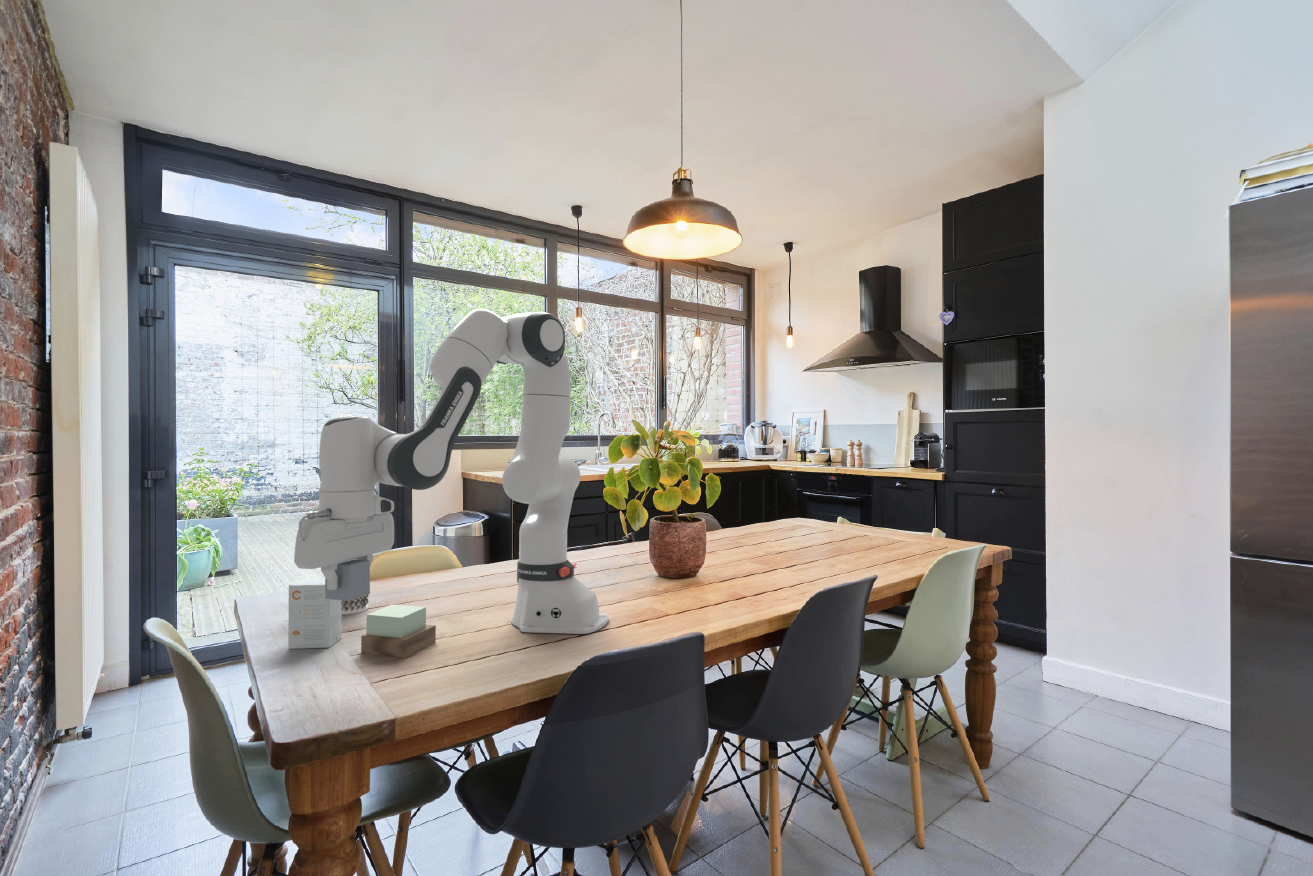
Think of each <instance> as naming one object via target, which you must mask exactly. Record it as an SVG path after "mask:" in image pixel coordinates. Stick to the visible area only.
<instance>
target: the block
mask: <svg viewBox="0 0 1313 876" xmlns="http://www.w3.org/2000/svg"><path fill="white" fill-rule="evenodd" d="M370 568H371V565H370V560H348V561H344V562H340V563H337V569H336V570H335V572H336V575H337V577H338V578H342V582H341V584H342V586H341V588H338V589H336V590H328V589H327V579H326V578H325V577H324V578H325V599H333V600H349V601H350V600H353V599H356V598H359V597H362V596H365V595H370V594H371V569H370Z"/></svg>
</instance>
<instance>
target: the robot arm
mask: <svg viewBox="0 0 1313 876" xmlns="http://www.w3.org/2000/svg"><path fill="white" fill-rule="evenodd" d="M565 346H566V333H565V330H564V327H563V323H562V322H561V321H560V320H559V318H558V316H556V315H555V314H552V313H548V312H544V311H534V312H520V313H514V314H512V315H508V316H504V317H500V316H499V315H498V314H497V313H496V312H493V311H492V310H489V309H486V308H477V309H474V310H471V311H470V312H469V313H468V314H466V315H465V316H464V317H463V318H462V319H461V320H460V321H458V323H457V324H456V325H455V326H454V327H453V328H452V329H451V331H450V332H449V333H448V335H446V337H445V338H444V340H443V341H442V343H441V344H440V345H439V347H438V348H437V350H436V351H435V353H434V355H433V358H432V360H431V363H430V365H429V366H430V372H431V377H432V378H433V380H434V382H435V383H436V384H437V385H438V387H440V388H441V391H440V394H439V396H438V398H437V400H436V401H435V404H434V405H433V407H432V409H431V410H430V412H429V413H428V415H427V416H426V419H425V420H424V422H423V423H422V425H421V426H420V427H418V428H417V429H415V430H414V431H412V432H409V433H403V434H402V433H398V432H396V431H392V430H390V429H388V428H386V427H383V426H382V425H380V424H378V423H377V422H375V421H374V420H373V419H372V418H370V417H369V416H368V415H365V414H358V415H357V414H355V415H349V416H341V417H335V418H333V419H330V420H328V421H326V423H324V425H323V427H322V428H321V429H322V430H321V433H320V440H319V453H318V455H319V456H318V457H319V459H318V467H319V471H320V474H321V483H320V486H319V489H318V496H319V497H318V498H319V499H318V501H319V502H318V503H319V508H318V509H319V510H317V511H307V512H306V513H305V515H304V516H303V517H302V518H301V519H300V520H299V522H298V530H297V531H296V532H297V533H296V537H295V545H294V556H293V559H294V562H293V563H294V564H295V565H296V567H297V568H298V569H301V570H302V569H303V570H315V569H318V568H320V571H321V573H322V575H323V576H324V578H326V579H327V589H328V590H336V589H338V588H341V586H342V584H341V582H342V578H338V577H337V575H336V572H335V570H336V569H337V563H340V562H344V561H348V560H352V559H356V558H358V560H370V566H371V565H372V563H373V561H374V559H373V558H374V557H373V556H374V555H375V554H379V553H384V552H387V551H390V550H391V549H392V547H393V545H394V543H395V520H394V516H393V514H392V513H393V512H394V510H395V502H394V501H393V500H391V499H388V498H385V497H381V496H379V495H377V494H376V490H375V488H376V484H377V483H381V484H383V485H388V486H389V485H390V486H395V487H404V488H407V489H410V490H416V491H423V490H427V489H431V488H433V487H435V486H436V485H438V484H439V483H440V482H441V481H443V479H444V478H445V476H446V474H447V472H448V470H449V467H450V461H451V457H452V452H453V448H454V445H455V443H456V441H457V438H458V437H459V435H460V433H461V431H462V429H463V427H464V425H465V423H466V422H467V420H468V418H469V416H470V414H471V412H472V411H473V408H474V406H475V404H476V403H477V400H478V399H479V396H480V393H481V389H482V386H483V385H484V384H485V383H484V382H485V381H486V380H487V378H488V376H489V375H490V373H491V372H492V370H493V369H494V367H495V365H496V364H501V365H508V364H510V365H511V364H513V365H521V367H522V371H523V373H524V380H523V389H522V390H523V391H522V408H521V410H522V411H521V426H520V432H519V436H518V440H517V444H516V448H515V450H514V453H513V457H512V459H511V461H509V463H508V465H507V466H506V467H505V468H504V471H503V473H502V480H501V481H502V482H501V483H502V487H503V490H504V493H505V494H506V496H507V497H509V498H510V499H511V501H514V502H516V503H517V502H518V503H520V504H526V505H528V508H527V512H526V515H525V517H524V519H523V521H522V523H520V527H519V532H518V533H519V535H518V536H519V539H518V541H519V545H518V547H519V548H518V550H519V551H518V553H519V554H518V559H519V560H518V561H517V562H516V563H517V564H516V565H517V566H516V568H517V569H516V582H517V595H516V602H515V607H514V612H513V615H512V618H511V620H510V621H511V624H512V625H514V626H515V627H517V628H518V629H519V631H520V632H522V633H536V634H537V633H539V634H540V633H541V634H569V635H570V634H573V635H574V634H575V635H586V634H591V633H593V632H594V633H595V632H597V631H598V630H600V629H602V628H604V626H606V625H607V623H608V622H609V615H608V613H605V612H600V607H599V601H598V597H597V595H596V593H595V592H594V591H592V590H591V589H590V588H589V587H588V586H586V585H585V584H584V583H582V581H580V580H579V579H578V578H577V577H575V576H574V575H575V569H576V568H577V562H576V563H573V564H572V562H570V561H569V560H568V559H567V558H568V527H569V519H570V515H571V510H572V507H573V506H572V504H573V500H574V496H575V492H576V490H577V489H578V487H579V484H580V481H581V470H580V468H579V466H578V465H577V463H576V462H575V461H574V460H573V459H570V458H569V457H566V456H564V455H561V454H560V453H561V449H562V446H563V443H564V440H565V437H566V436H567V435H568V433H569V431H570V423H571V422H570V420H571V396H572V395H571V393H572V392H571V390H572V389H571V374H570V367H569V360H568V359H567V357H566V356H565V354H564V353H565V349H566V348H565Z"/></svg>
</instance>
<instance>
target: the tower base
mask: <svg viewBox="0 0 1313 876" xmlns="http://www.w3.org/2000/svg"><path fill="white" fill-rule="evenodd" d="M436 630H437V626H436V625H435V624H427V623H426V626H425V627H423V628H421V629H419V630H417V631H415V632H413V633H411V634H409V635H407V636H405V637H403V638H396V637H385V636H374V635H366V633H364V634H362V635H361V638H360V639H361V641H360V642H361V643H360V644H361V647H360V648H361V649H360V654H362V655H371V656H372V655H373V656H378V657H379V656H380V657H389V658H398V659H406V658H409V657H410V656H412V655H414V654H417V653H418V652H419V651H422V650H424V649H426V648H427V647H429V646H432V645H433V644H435V643H436V642H437V641H436V638H437V637H436V636H437V631H436Z"/></svg>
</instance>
